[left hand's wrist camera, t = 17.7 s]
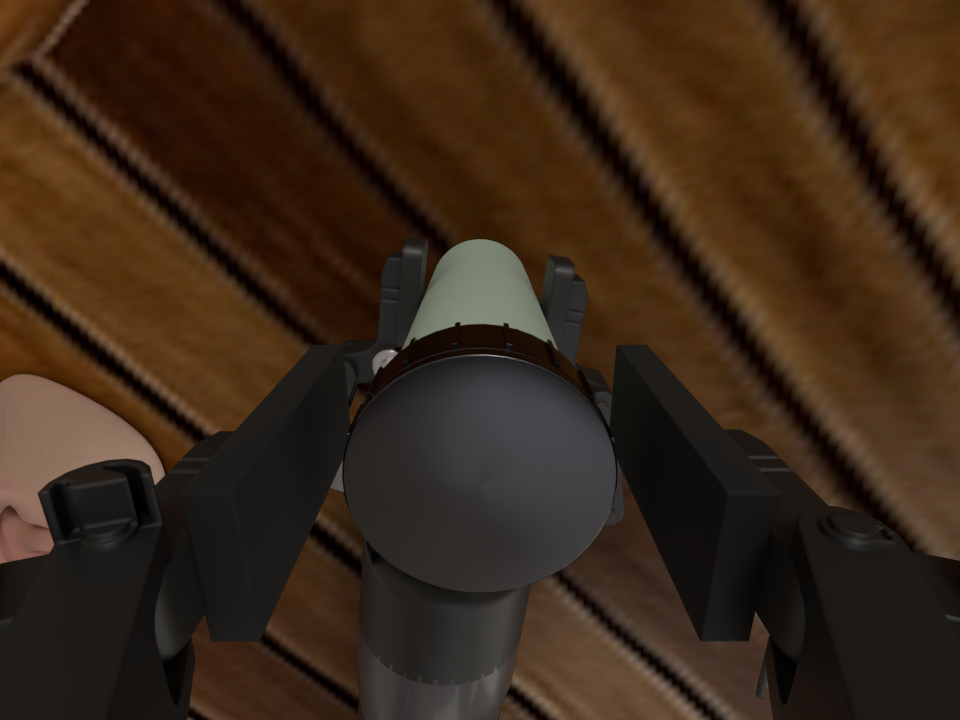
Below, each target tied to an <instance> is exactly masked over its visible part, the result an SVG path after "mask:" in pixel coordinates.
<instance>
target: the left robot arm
mask: <svg viewBox="0 0 960 720" xmlns="http://www.w3.org/2000/svg"><path fill="white" fill-rule="evenodd" d="M349 428H350V415H349V404H348V393H347V382H346V371H345V360H344V349H343V345H313V346H312V347H311V348H310V349H309V350H308V351H307V353H306V354H305V355H304V356H303V357H302V358H301V359H300V360H299V361H298V362H297V364H296V365H295V366H294V367H293V368H292V369H291V370H290V371H289V372H288V373H287V375H286V376H285V377H284V378H283V379H282V380H281V381H280V382H279V383H278V384H277V386H276V387H275V388H274V389H273V390H272V391H271V392H270V393H269V394H268V395H267V397H266V398H265V399H264V400H263V401H262V402H261V403H260V404H259V405H258V406H257V408H256V409H255V410H254V411H253V412H252V413H251V414H250V415H249V416H248V417H247V419H246V420H245V421H244V422H243V423H242V424H241V425H240V426H239V427H238V428H237V430H236V431H219V432H217V433H215V434H214V435H212V436H210V437H208V438H206V439H204V440H203V441H201V442H199V443H197V444H196V445H195V446H194V447H193V448H192V449H191V450H190V451H189V452H188V453H187V454H186V455H185V456H184V457H183V458H182V461H179V462H178V463H177V464H176V465H175V466H174V467H173V468H172V469H171V470H170V473H169V474H166V475H165V476H164V477H163V478H162V479H161V480H160V481H159V482H158V483H157V484H156V485H155V484H154V480H153V476H152V472H151V467H150V466H149V465H148V464H146V463H145V462H143V461H141V460H134V459H115V460H106V461H102V462H97V463H93V464H88V465H85V466H82V467H80V468H77V469H74V470H72V471H69V472H66V473H65V474H63V475H61V476H59V477H57V478H56V479H54V480H52V481H50V482H49V483H48V484H46V485H45V486H44V487H43V488H42V489H41V490H40V491H39V492H38V493H37V494H38V497H39V500H40V503H41V506H42V509H43V512H44V515H45V518H46V521H47V524H48V527H49V530H50V533H51V537H52V540H53V543H54V546H53V548H52V549H51V551H50V553H49V554H46V555H41V556H36V557H31V558H26V559H21V560H16V561H10V562H5V563H0V720H187V716H188V709H189V702H190V695H191V688H192V681H193V674H194V667H195V653H194V647H193V643H192V639H191V636H192V634H193V632H194V631H195V629H196V627H197V626H198V624H199V622H200V621H201V619H202V618H203V616H204V614H205V615H206V619H207V624H208V628H209V633H210V637H211V641H260V639H261V637H262V635H263V633H264V630H265V628H266V626H267V624H268V622H269V619H270V617H271V615H272V613H273V611H274V609H275V606H276V604H277V602H278V600H279V598H280V596H281V593H282V591H283V589H284V587H285V585H286V583H287V580H288V578H289V576H290V574H291V572H292V569H293V567H294V565H295V563H296V561H297V559H298V556H299V554H300V552H301V550H302V548H303V546H304V543H305V541H306V539H307V537H308V535H309V533H310V530H311V528H312V526H313V524H314V522H315V519H316V517H317V515H318V513H319V511H320V509H321V506H322V504H323V502H324V500H325V498H326V496H327V493H328V491H329V489H330V487H331V485H332V482H333V480H334V478H335V476H336V474H337V472H338V469H339V467H340V465H341V463H342V461H343V457H344V451H345V446H346V443H347V440H348V438H346V434H347V432H348V430H349ZM609 428H610V430H611V432H612V434H613V436H614V440H615V442H613V444H614V448H615V452H616V457H617V461H618V463H619V465H620V467H621V469H622V472H623V474H624V476H625V478H626V480H627V483H628V485H629V487H630V489H631V491H632V493H633V496H634V498H635V500H636V502H637V504H638V506H639V509H640V511H641V513H642V515H643V517H644V519H645V522H646V524H647V526H648V528H649V530H650V533H651V535H652V537H653V539H654V541H655V543H656V546H657V548H658V550H659V552H660V554H661V556H662V559H663V561H664V563H665V565H666V567H667V570H668V572H669V574H670V576H671V578H672V580H673V583H674V585H675V587H676V589H677V591H678V593H679V596H680V598H681V600H682V602H683V604H684V606H685V609H686V611H687V613H688V615H689V617H690V620H691V622H692V624H693V626H694V628H695V630H696V633H697V635H698V637H699V639H700V641H749V637H750V633H751V628H752V624H753V619H754V615H755V611H756V613H757V615H758V616H759V618H760V620H761V621H762V623H763V624H764V626H765V628H766V629H767V631H768V633H769V634H770V635H769V639H768V643H767V647H766V651H765V656H764V660H763V664H762V668H761V672H760V677H759V681H758V685H757V692H756V697H759V698H762V699H764V696H765V692H766V688H767V686H768V687H769V694H770V701H771V708H772V715H773V720H960V561H958V560H953V559H948V558H942V557H937V556H932V555H927V554H922V553H917V552H912V551H910V550H909V548H908V546H907V545H906V543H905V542H904V541H903V540H902V539H901V538H900V536H899V535H898V534H897V533H896V532H895V531H893V530H892V529H890V528H889V527H887V526H886V525H884V524H883V523H881V522H880V521H878V520H876V519H873V518H871V517H869V516H867V515H864V514H862V513H860V512H856V511H853V510H849V509H845V508H841V507H834V506H828V505H827V504H826V503H825V502H824V501H823V500H822V499H821V498H820V497H819V496H818V495H817V494H816V493H815V492H814V491H813V490H812V489H811V488H810V487H809V486H808V485H807V484H806V483H805V482H804V481H803V480H802V479H801V478H800V477H799V476H798V475H797V474H796V473H795V472H791V468H790V467H789V466H788V465H787V464H786V463H785V462H784V461H783V460H782V459H779V458H778V455H777V454H776V453H775V452H773V451H772V450H771V449H770V448H769V447H768V446H767V445H766V444H765V443H764V442H763V441H761V440H759V439H757V438H756V437H754V436H752V435H750V434H748V433H746V432H745V431H743V430H723V428H722V427H721V426H720V425H719V424H718V423H717V422H716V421H715V420H714V419H713V417H712V416H711V415H710V414H709V413H708V412H707V411H706V410H705V409H704V408H703V406H702V405H701V404H700V403H699V402H698V401H697V400H696V399H695V398H694V397H693V395H692V394H691V393H690V392H689V391H688V390H687V389H686V388H685V387H684V386H683V384H682V383H681V382H680V381H679V380H678V379H677V378H676V377H675V376H674V375H673V373H672V372H671V371H670V370H669V369H668V368H667V367H666V366H665V365H664V364H663V362H662V361H661V360H660V359H659V358H658V357H657V356H656V355H655V354H654V353H653V351H652V350H651V349H650V348H649V347H648V346H647V345H617V349H616V360H615V371H614V382H613V393H612V404H611V415H610V426H609Z"/></svg>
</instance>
